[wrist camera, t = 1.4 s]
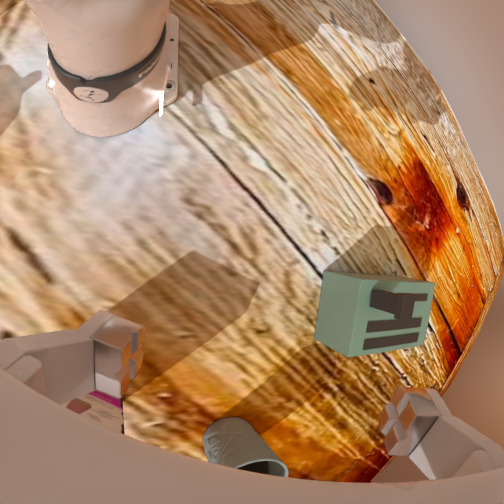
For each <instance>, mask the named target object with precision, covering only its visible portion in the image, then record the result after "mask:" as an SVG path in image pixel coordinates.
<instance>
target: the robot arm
mask: <svg viewBox="0 0 504 504" xmlns="http://www.w3.org/2000/svg"><path fill="white" fill-rule="evenodd" d="M23 1H24V2H25V3H26V4H27V5H28V6H29V7H30V8H31V9H32V10H33V12H34V13H35V15H36V16H37V18H38V20H39V22H40V24H41V27H42V29H43V31H44V34H45V36H46V38H47V41H48V55H49V56H48V57H49V59H48V60H47V68H48V72H49V78H48V80H47V82H46V87H47V90H48V91H49V93H50V94H51V95H52V96H53V97H54V98H56V99H57V101H58V103H59V105H60V108H61V111H62V114H63V116H64V118H65V119H66V120H67V122H68V123H69V124H70V125H71V126H72V127H73V128H75V129H76V130H78V131H80V132H82V133H84V134H87V135H90V136H96V137H109V136H115V135H119V134H122V133H125V132H128V131H130V130H132V129H134V128H135V127H137V126H138V125H140V124H141V123H142V122H144V121H145V120H146V119H147V118H148V117H149V116H150V115H151V114H152V113H153V112H154V111H156V110H157V109H159V108H160V112H159V116H162V114H163V107H164V106H167V105H169V104H171V103H173V102H174V101H175V100H176V99H177V95H178V40H179V18H178V17H177V16H176V15H174V14H173V13H171V12H169V5H170V2H171V0H23ZM167 85H170V86H171V87H172V88H170V89H168V88H167V87H166V86H167ZM145 334H146V329H145V326H143V325H140V324H137V323H135V322H132V321H129V320H127V319H124V318H122V317H119V316H116V315H114V314H112V313H109V312H106V311H103V310H100V311H98V312H97V313H96V314H95V315H93V316H92V317H91V318H90V319H88V320H87V321H86V322H85V323H84V324H82V325H81V326H80V327H79V328H78V329H76V330H75V331H73V330H71V329H69V330H63V331H56V332H50V333H43V334H36V335H28V336H21V337H13V338H6V339H4V340H2V341H1V342H0V504H504V451H503V450H502V448H501V447H500V446H499V445H497V444H496V443H494V442H493V441H491V440H490V439H488V438H487V437H485V436H484V435H482V434H481V433H479V432H478V431H477V430H475V429H474V428H472V427H470V426H469V425H468V424H466V423H464V422H463V421H461V420H460V419H459V418H457V417H453V416H452V414H451V412H450V411H449V409H448V408H447V406H446V405H445V403H444V401H443V400H442V398H441V396H440V395H439V393H438V392H437V391H436V390H434V389H424V388H410V387H399V386H398V387H397V388H396V389H395V390H394V391H393V393H392V395H391V402H390V403H388V404H387V405H385V406H384V408H383V410H382V411H381V413H380V417H379V429H380V432H381V433H382V434H383V435H385V436H386V437H385V439H384V444H385V447H386V450H387V453H388V455H401V456H402V455H405V456H409V458H410V459H411V460H412V461H413V462H414V463H415V464H416V465H417V466H418V467H419V469H420V470H421V471H422V472H423V473H424V474H425V475H426V476H427V477H428V478H429V479H430V480H426V481H414V482H398V483H346V482H328V481H315V480H305V479H296V478H288V477H280V476H274V475H267V474H261V473H256V472H250V471H245V470H240V469H235V468H231V467H226V466H222V465H218V464H214V463H210V462H206V461H202V460H198V459H195V458H191V457H188V456H184V455H181V454H178V453H174V452H171V451H168V450H165V449H162V448H159V447H156V446H153V445H151V444H148V443H145V442H142V441H140V440H137V439H134V438H132V437H129V436H127V435H124V434H122V433H119V432H117V431H114V430H112V429H110V428H107V427H105V426H103V425H101V424H98V423H96V422H94V421H92V420H90V419H88V418H86V417H84V416H81V415H79V414H77V413H75V412H73V411H71V410H70V409H68V408H66V407H64V406H62V405H61V404H63V403H66V402H68V401H71V400H73V399H75V398H78V397H80V396H83V395H85V394H88V393H90V392H92V391H95V389H96V390H98V391H101V392H103V393H106V394H108V395H111V396H113V397H116V398H119V399H121V398H122V396H123V395H124V393H125V392H126V390H127V389H128V387H129V381H130V379H133V378H135V377H136V375H137V374H138V372H139V369H140V367H141V364H142V360H143V354H144V350H143V348H142V346H141V344H142V342H143V341H144V340H145Z"/></svg>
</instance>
